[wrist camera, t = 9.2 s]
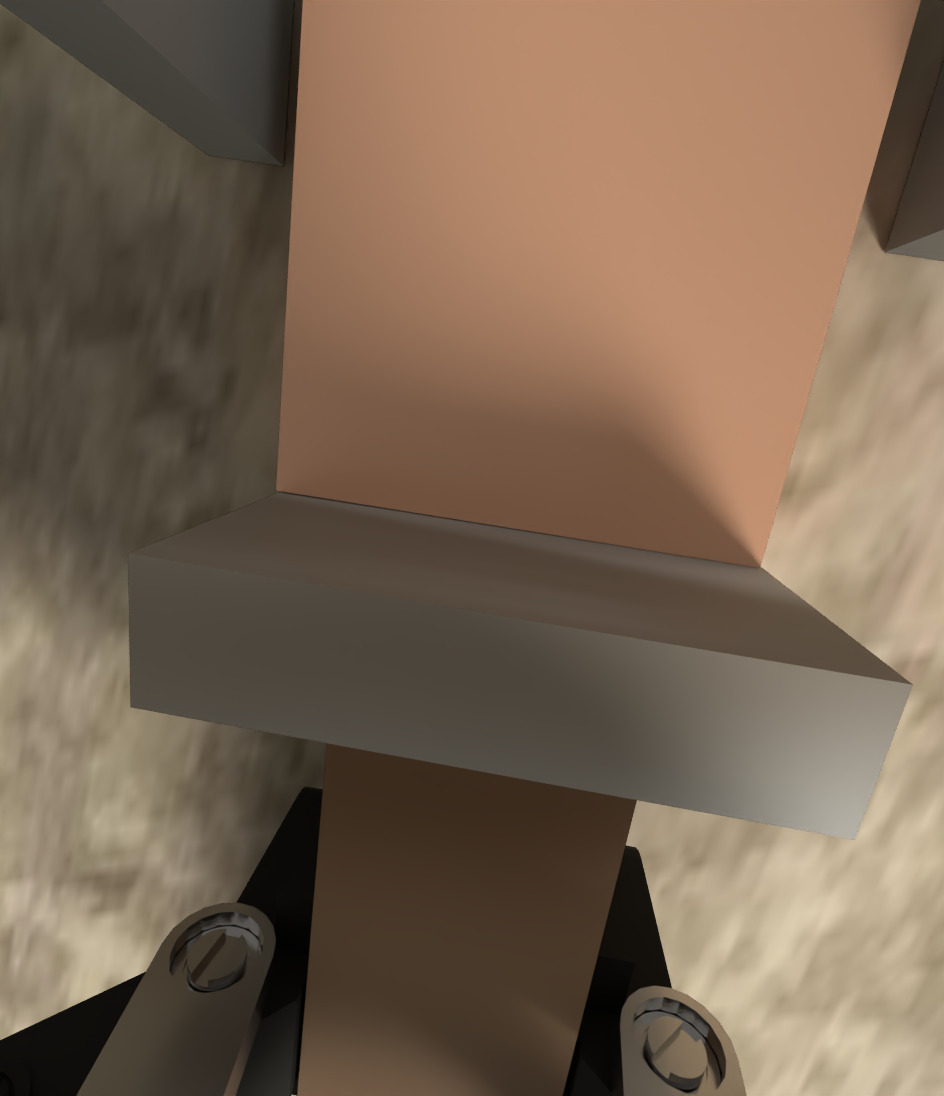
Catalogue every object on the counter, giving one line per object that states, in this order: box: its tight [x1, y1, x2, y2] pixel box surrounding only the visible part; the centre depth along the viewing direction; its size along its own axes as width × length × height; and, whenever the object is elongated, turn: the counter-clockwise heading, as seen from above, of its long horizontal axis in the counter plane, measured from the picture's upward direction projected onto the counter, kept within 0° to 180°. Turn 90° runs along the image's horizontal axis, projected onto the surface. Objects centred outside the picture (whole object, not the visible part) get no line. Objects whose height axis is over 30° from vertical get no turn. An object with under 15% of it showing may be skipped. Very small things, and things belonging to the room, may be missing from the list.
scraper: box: [128, 491, 913, 1096], centre depth 9 cm, size 14×7×5 cm, turn 172°
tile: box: [276, 0, 921, 568], centre depth 9 cm, size 7×7×2 cm
